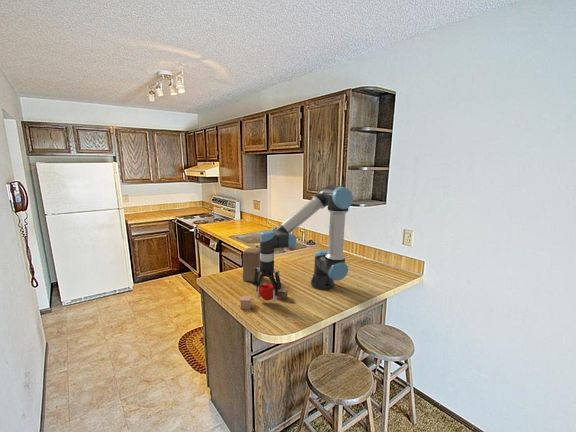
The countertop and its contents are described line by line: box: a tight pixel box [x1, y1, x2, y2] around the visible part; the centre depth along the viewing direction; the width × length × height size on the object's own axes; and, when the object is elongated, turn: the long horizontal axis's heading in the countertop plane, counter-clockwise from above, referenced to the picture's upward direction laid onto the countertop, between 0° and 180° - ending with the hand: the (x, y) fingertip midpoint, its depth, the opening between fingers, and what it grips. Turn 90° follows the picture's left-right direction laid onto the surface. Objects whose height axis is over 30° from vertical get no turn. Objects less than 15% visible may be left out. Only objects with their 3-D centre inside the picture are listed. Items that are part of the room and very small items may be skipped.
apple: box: [259, 283, 274, 301], centre depth 150 cm, size 9×9×8 cm
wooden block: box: [242, 247, 262, 282], centre depth 181 cm, size 10×10×20 cm
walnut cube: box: [277, 287, 288, 301], centre depth 158 cm, size 5×5×5 cm
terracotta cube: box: [240, 295, 252, 310], centre depth 147 cm, size 5×5×5 cm
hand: (267, 298), depth 151 cm, fingers closed on apple, 9 cm apart
